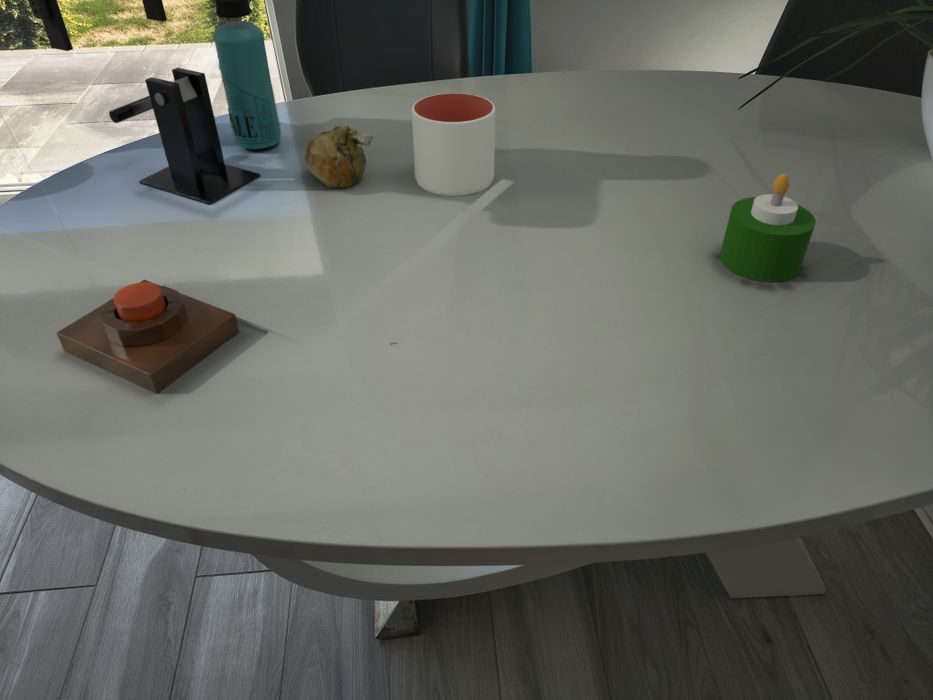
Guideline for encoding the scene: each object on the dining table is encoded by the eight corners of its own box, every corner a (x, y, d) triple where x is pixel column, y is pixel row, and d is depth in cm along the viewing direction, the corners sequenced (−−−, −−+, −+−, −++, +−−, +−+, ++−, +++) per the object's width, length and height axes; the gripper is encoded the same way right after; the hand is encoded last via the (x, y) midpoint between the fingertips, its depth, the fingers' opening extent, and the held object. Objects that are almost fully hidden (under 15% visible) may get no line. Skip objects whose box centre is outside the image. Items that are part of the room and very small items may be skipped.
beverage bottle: (287, 140, 105) (262, -12, 92) (280, 159, 100) (253, 1, 87) (240, 141, 104) (209, -11, 92) (232, 161, 99) (197, 2, 87)
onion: (352, 165, 98) (346, 106, 93) (380, 188, 93) (375, 127, 88) (299, 179, 95) (290, 119, 90) (324, 203, 90) (316, 140, 85)
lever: (115, 127, 91) (105, 108, 90) (153, 112, 95) (143, 93, 94) (171, 107, 84) (160, 86, 83) (209, 91, 88) (199, 71, 87)
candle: (785, 291, 74) (814, 201, 68) (707, 264, 78) (728, 178, 72) (810, 257, 79) (839, 170, 73) (736, 234, 83) (758, 150, 77)
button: (109, 315, 65) (103, 299, 64) (144, 293, 68) (139, 277, 67) (140, 328, 64) (134, 312, 63) (175, 305, 66) (170, 289, 65)
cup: (444, 210, 88) (442, 129, 82) (400, 180, 94) (395, 104, 88) (509, 188, 93) (512, 110, 86) (463, 161, 99) (462, 87, 93)
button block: (64, 351, 67) (48, 316, 64) (150, 297, 74) (139, 263, 71) (157, 394, 62) (144, 358, 60) (239, 332, 69) (231, 297, 67)
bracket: (141, 189, 93) (107, 79, 84) (194, 163, 99) (168, 57, 90) (211, 211, 88) (183, 97, 79) (262, 182, 94) (241, 73, 86)
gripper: (-53, -184, 63) (38, 68, 76) (168, -195, 80) (212, 12, 93) (-103, -185, 66) (-6, 57, 79) (121, -196, 83) (170, 5, 96)
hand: (112, 33), depth 86 cm, fingers open, 13 cm apart
